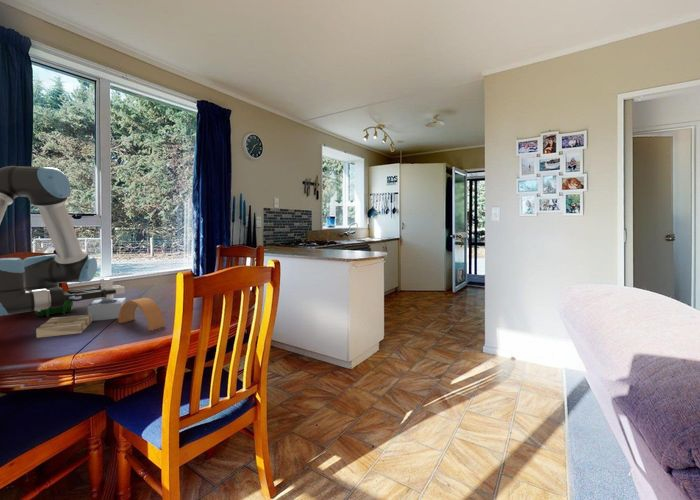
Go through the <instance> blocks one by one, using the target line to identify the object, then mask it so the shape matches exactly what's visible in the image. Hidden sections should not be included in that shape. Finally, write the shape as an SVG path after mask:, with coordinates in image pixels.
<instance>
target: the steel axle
mask: <svg viewBox="0 0 700 500" xmlns="http://www.w3.org/2000/svg"><path fill="white" fill-rule="evenodd" d="M99 281H100V286H101V290H104V289H108V288H113V286H114V284H113V283H114V281H113V278H111V277H107V278H101V279H99ZM114 299H115V298H114V295H107V296H106V298H105V297H100V300H102V304H105V303H114Z"/></svg>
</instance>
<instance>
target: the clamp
mask: <svg viewBox="0 0 700 500" xmlns="http://www.w3.org/2000/svg"><path fill="white" fill-rule="evenodd" d="M73 304H74V301H72V302H70V300H69V301H64V306H63V307H58V308H50V307H49V308H48V309H43V310H42V309H41V311H40V312H38V311H37V310H36V311H35V315H36V316H37V317H43V316H44V315H45V316H46V317H47V318H49V317H50V316H51V315H57V314H63V315H65V314H66V313H69V312H71V310H72V307H73V306H74V305H73ZM50 314H51V315H50Z"/></svg>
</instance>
